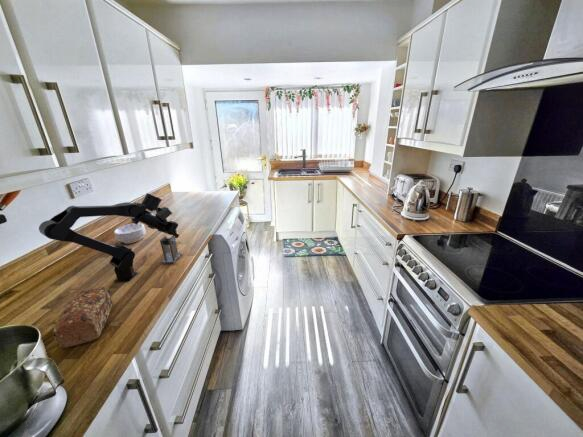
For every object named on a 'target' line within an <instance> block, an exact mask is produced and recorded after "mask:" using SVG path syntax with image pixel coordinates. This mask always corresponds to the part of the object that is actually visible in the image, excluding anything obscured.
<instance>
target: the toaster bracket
mask: <svg viewBox="0 0 583 437" xmlns="http://www.w3.org/2000/svg"><path fill="white" fill-rule="evenodd" d="M172 236H173V235H172ZM172 236H171V237H169V238H170V239H169V240H168V242H169V245H165V243H164V240H166V239H167V238H168V236H164V237H162V238H161V239H160V240H159V244H160V246H161V250H162V255H163V260H162V261H161V265H174V264H176V263H177V261H178V260H179V259H180V258H181V257H182V256H183V252H179V250H178V246H177V242H176V238H175V237H174V236H173V237H172Z"/></svg>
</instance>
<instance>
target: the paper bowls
mask: <svg viewBox="0 0 583 437" xmlns="http://www.w3.org/2000/svg"><path fill="white" fill-rule="evenodd" d="M113 233H114V237H115V240H116V241H117V242H121V243H123V244H134V243H137V242H139V241H141V240H142V239H143V237H144V236H145V235H146V234H147V230H146V227H145V224H144V223H141V222H138V224H134V223H130V224H125V225H122V226H120V227H117V228H116V229H114V231H113Z"/></svg>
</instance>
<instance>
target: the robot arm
mask: <svg viewBox="0 0 583 437" xmlns="http://www.w3.org/2000/svg"><path fill="white" fill-rule="evenodd" d="M161 203H162V199H161V198H160V197H158V196H155V195H153V194H151V193H148V192H147V193H146V194H145V196H144V198H143V200H142V201H141V203H140V202H134V203H133V202H129V201H125V202H119V203H116V204H112V205H69V206H68V207H66V208H65V209H64V210H63V211H61V212H59V213H57V214H56V215H54V216H52V217H51V218H50V219H48V220H44V221H43V222H41V223H40V224H39V226H38V231H39V233H40V234H41V235H43V236H45V237H46V238H48V239H49V240H53V241H54V240H55V241H59V242H66V243H73V244H77V245H79V246H82V247H85V248H88V249H91V250H94V251H97V252H100V253H103V254H105V255H109V256H111V258H110V260H109V262H108V263H109V264H110V265H111V266H113V267H114V269H113V271H114V273H115V275H116V278H115V279H114V282H116V283H117V282H119V283H120V282H130V281H131V280H132V279H133V278H135V277H136V275H138V271H135V270H134V267H133V266H134V259H135V257H136V253H135V251H134V250H133V248H131V247H130V246H127V245H124V244H121V243H119V242H115V245H114V244H110V243H107V242H104V241H101V240H99V239H96V238H94V237H90V236H88V235H85V234H83V233H79V232H77V231H75V230H73V229H72V227H74V225H75V224H76V223H77V221H78V220H79V219H80V218H89V217H107V216H108V217H109V216H110V217H111V216H116V217H117V216H118V217H124V218H130V220H131V224H138V223H141V224H143V225H146V226H147V228H149V229H151V230H157V231H158V232H162V233H164V234H168V235H169V236H173V234H174V233H176V232H177V233H178V231H177V228H178V227H179V223H178V222H176V221H172V220H169V221H168V219H167V218H169V217H170V216H172V215H173V212H172V210H171V209H170V208H169V207H167V206H164V207H163V206H162V207H159V206H160V204H161ZM153 211H154V212H155V213H156V214H155V213H153Z"/></svg>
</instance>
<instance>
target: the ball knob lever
mask: <svg viewBox="0 0 583 437" xmlns="http://www.w3.org/2000/svg"><path fill="white" fill-rule="evenodd" d="M173 236H174V237H175V239H178V238H179V237H180V233H179V232H178V231H177V232H176V233H174V234H173V235H171V237H173ZM171 237H167V239H166V240H164V243H165V245H169V242H168V240H169V239H170V238H171Z"/></svg>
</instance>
